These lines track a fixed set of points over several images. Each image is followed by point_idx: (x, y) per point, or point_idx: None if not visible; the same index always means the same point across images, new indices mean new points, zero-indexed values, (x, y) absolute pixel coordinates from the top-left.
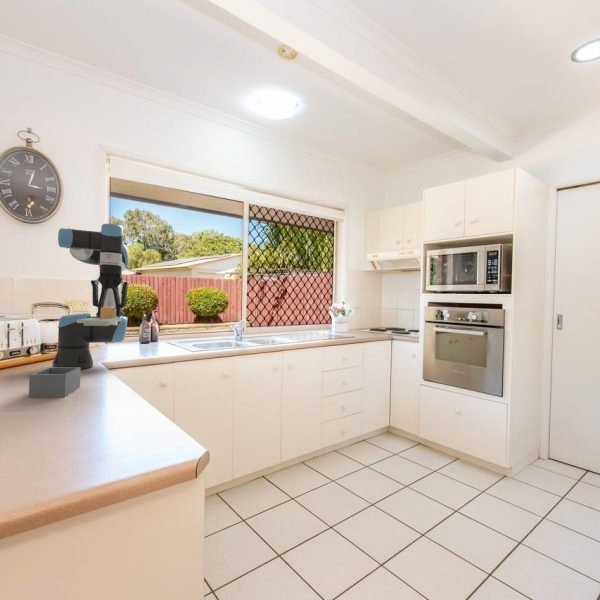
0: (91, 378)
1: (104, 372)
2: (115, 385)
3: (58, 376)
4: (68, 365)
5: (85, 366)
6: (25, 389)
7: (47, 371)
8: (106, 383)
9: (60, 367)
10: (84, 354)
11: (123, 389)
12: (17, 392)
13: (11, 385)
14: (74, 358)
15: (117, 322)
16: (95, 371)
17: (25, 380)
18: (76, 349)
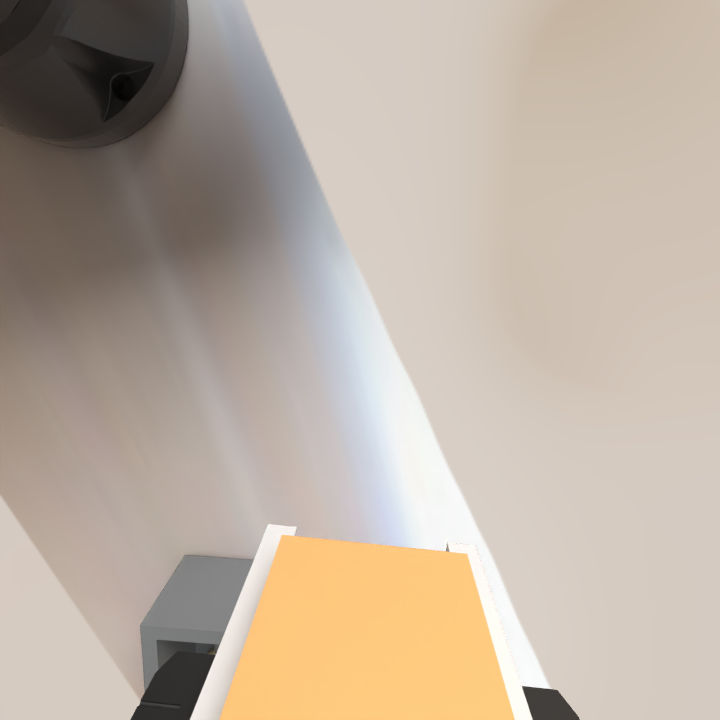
0: (298, 375)
1: (320, 212)
2: (448, 531)
3: None
4: (70, 139)
5: (163, 87)
6: (110, 556)
7: (163, 651)
8: (400, 489)
9: (199, 633)
10: (98, 31)
11: (494, 600)
12: (107, 596)
13: (14, 484)
14: (65, 102)
15: (482, 575)
16: (258, 175)
17: (11, 392)
18: (15, 50)
